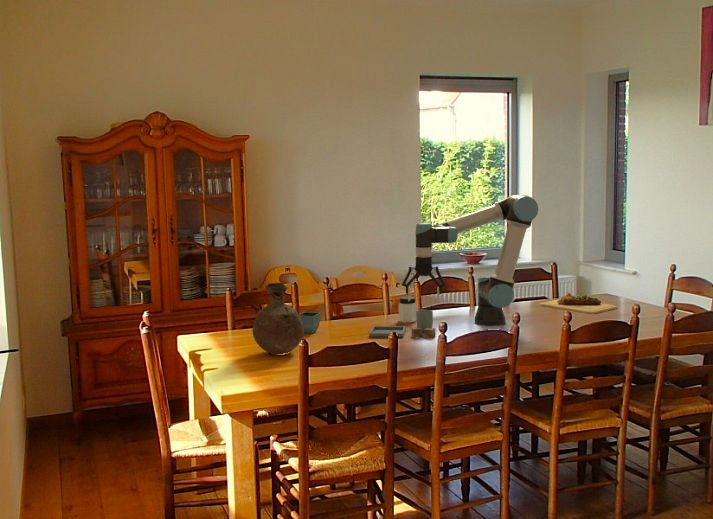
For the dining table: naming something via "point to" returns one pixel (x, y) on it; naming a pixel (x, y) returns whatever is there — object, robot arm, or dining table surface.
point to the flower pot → (310, 321)
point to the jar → (407, 309)
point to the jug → (277, 323)
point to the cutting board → (579, 304)
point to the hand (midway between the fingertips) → (423, 301)
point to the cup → (424, 319)
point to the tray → (386, 331)
